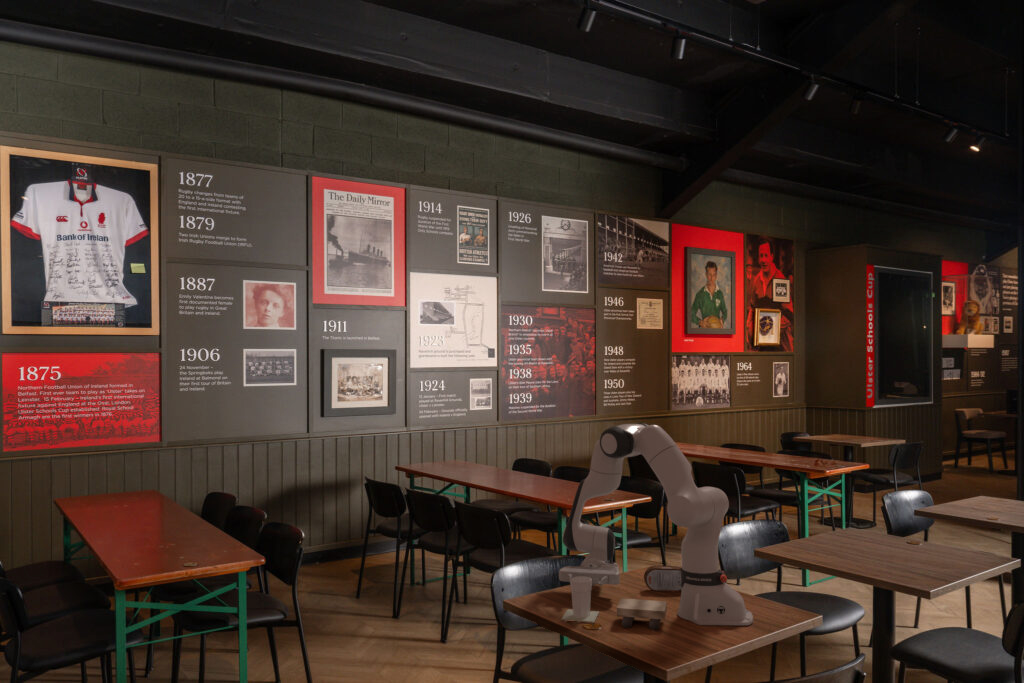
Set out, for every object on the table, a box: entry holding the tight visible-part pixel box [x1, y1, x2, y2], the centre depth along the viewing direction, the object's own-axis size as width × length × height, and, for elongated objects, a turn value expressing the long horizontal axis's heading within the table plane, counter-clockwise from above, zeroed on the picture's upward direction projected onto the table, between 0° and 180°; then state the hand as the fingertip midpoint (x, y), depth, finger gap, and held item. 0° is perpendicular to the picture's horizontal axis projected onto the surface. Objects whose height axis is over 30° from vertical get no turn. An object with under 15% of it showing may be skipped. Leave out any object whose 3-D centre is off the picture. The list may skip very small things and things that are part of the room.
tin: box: [643, 565, 682, 592], centre depth 259 cm, size 15×3×8 cm, turn 84°
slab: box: [616, 597, 668, 631], centre depth 226 cm, size 14×12×5 cm
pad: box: [561, 608, 600, 624], centre depth 231 cm, size 10×10×1 cm
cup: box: [569, 576, 593, 618], centre depth 232 cm, size 7×7×11 cm
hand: (586, 581), depth 243 cm, fingers open, 8 cm apart
